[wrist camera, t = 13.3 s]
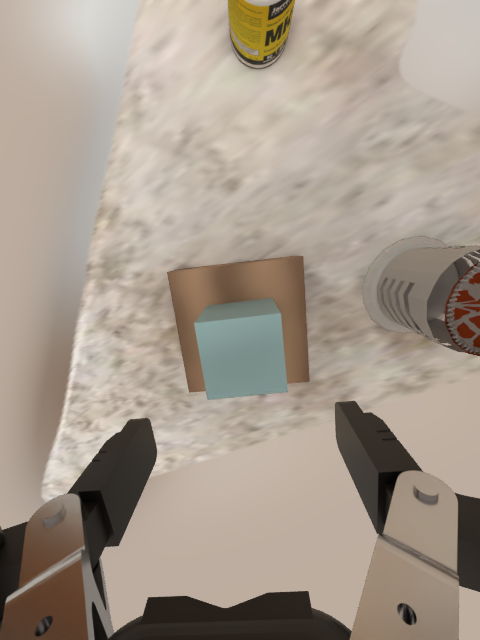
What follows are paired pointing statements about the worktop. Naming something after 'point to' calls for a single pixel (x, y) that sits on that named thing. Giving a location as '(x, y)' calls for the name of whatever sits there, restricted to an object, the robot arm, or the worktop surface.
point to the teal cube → (241, 349)
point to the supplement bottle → (259, 29)
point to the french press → (427, 292)
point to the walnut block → (236, 286)
